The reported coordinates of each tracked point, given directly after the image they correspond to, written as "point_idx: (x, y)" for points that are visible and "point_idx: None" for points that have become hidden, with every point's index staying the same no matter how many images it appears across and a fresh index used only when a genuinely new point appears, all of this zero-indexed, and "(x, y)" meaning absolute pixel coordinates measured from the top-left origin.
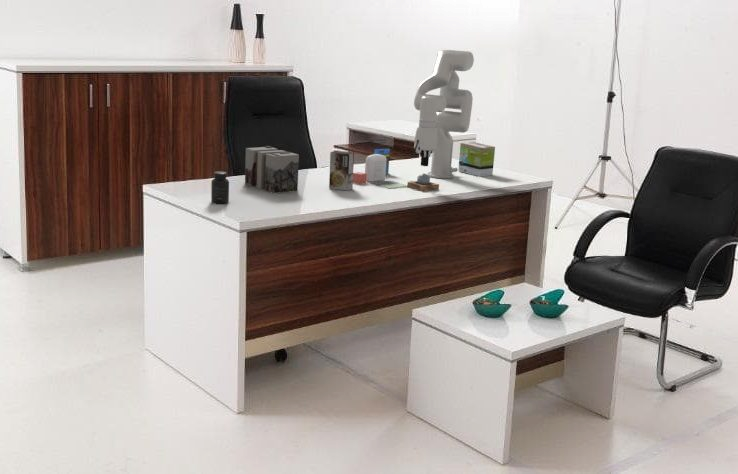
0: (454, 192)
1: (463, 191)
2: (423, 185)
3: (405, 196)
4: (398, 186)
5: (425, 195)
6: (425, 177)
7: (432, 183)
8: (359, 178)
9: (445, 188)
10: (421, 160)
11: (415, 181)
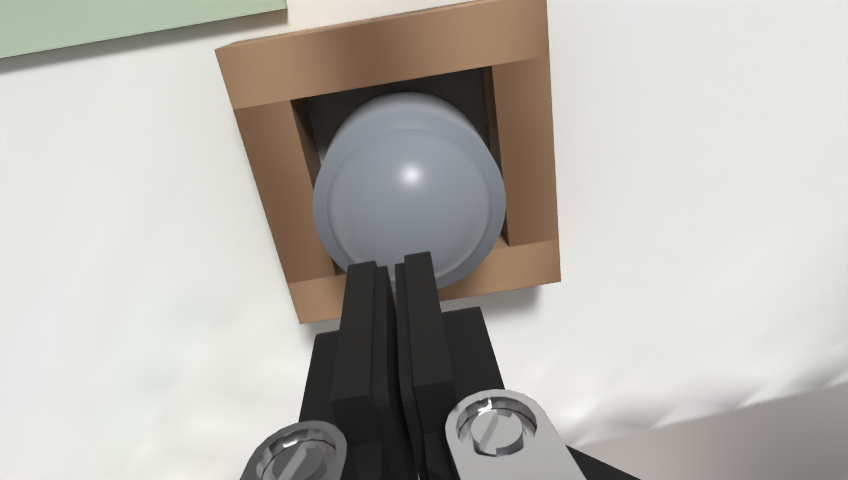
0: (607, 381)
1: (723, 363)
2: (331, 295)
3: (35, 429)
4: (99, 13)
5: (253, 428)
6: (392, 282)
7: (520, 218)
8: None
9: (668, 211)
10: (313, 387)
11: (362, 40)
